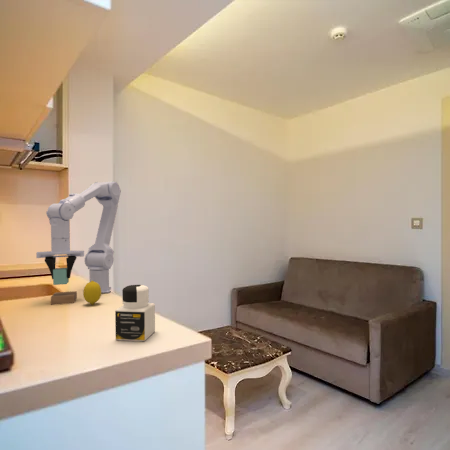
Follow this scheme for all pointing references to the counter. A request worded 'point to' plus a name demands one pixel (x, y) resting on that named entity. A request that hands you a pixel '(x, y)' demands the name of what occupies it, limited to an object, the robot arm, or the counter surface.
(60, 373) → the counter surface
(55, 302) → the walnut block
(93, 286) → the lemon
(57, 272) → the teal block
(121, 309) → the medicine bottle
